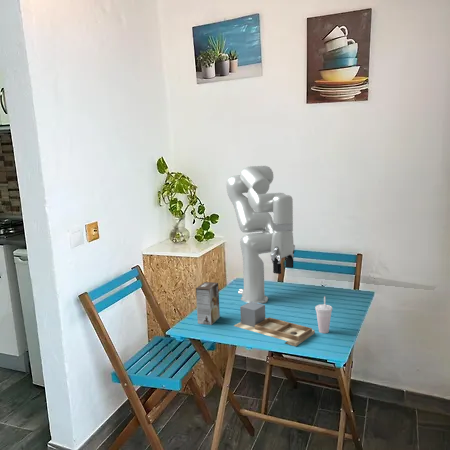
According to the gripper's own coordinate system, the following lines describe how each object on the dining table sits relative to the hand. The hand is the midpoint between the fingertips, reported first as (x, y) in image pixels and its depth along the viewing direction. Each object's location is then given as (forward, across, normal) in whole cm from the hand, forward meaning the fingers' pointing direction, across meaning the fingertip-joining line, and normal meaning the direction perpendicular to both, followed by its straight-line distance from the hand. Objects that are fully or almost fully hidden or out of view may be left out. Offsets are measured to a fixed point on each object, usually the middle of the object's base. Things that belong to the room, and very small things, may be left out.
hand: (283, 270), depth 172 cm
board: (+22, +8, 0) cm, 24 cm away
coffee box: (+22, +15, -27) cm, 38 cm away
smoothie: (+22, -2, +16) cm, 28 cm away
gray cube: (+21, +8, -10) cm, 24 cm away
